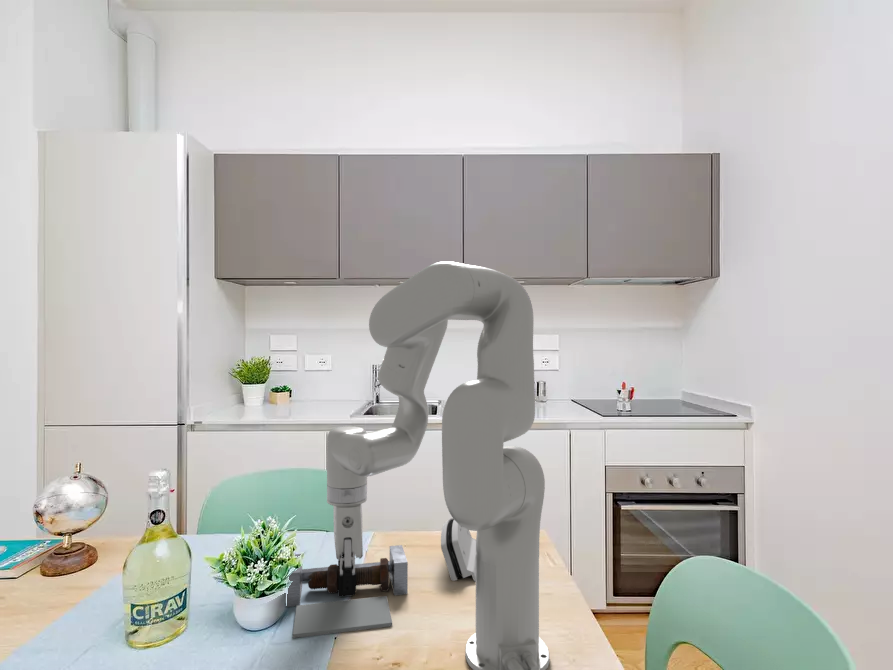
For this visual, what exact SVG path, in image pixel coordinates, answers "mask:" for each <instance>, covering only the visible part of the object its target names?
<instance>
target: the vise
mask: <svg viewBox="0 0 893 670" xmlns="http://www.w3.org/2000/svg"><path fill="white" fill-rule="evenodd" d="M301 554H302V553H298V554H296V553H295V556H297V557H298V556H300V555H301ZM388 562H389V581H390V582H391V583H390V584H391V588H392V592H393V595H394V596H403V595H408V586H409V585H408V582H409V581H408V580H409V579H408V577H409V575H408V570H409V569H408V568H409V566H408V559H407V556H406V552H405V549H404V548H403V545H402V544H399V545H390V546H389V560H388ZM376 565H380V561H379V562H378V561H377V562H367V563H355V568H358V567H359V568H360V567H361V568H362V567H364V568H365V567H366V568H367V567H371V566H376ZM328 567H329V566H324V567H313V568H312V567H311V568H303V565H302V566H301V567H300V568H298V569H297V570H296V571H294V572H293V573H292V574H291V575H290V576H289V580H290V581H293V582H292V583H291V585H290V586H289V588H288V594H287V607H286V608H293V607H296V606H297V605H301V600H302V591H303V590H302V589H303V581H310V580H311V579H312V578H310V579H309V578H308V576H309V575H310V574H312V573H313V572H314V571H315V572H316V571H318V572H319V571H321V570H322V572H323V570H324V571H326V570H328ZM308 579H309V580H308Z"/></svg>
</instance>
